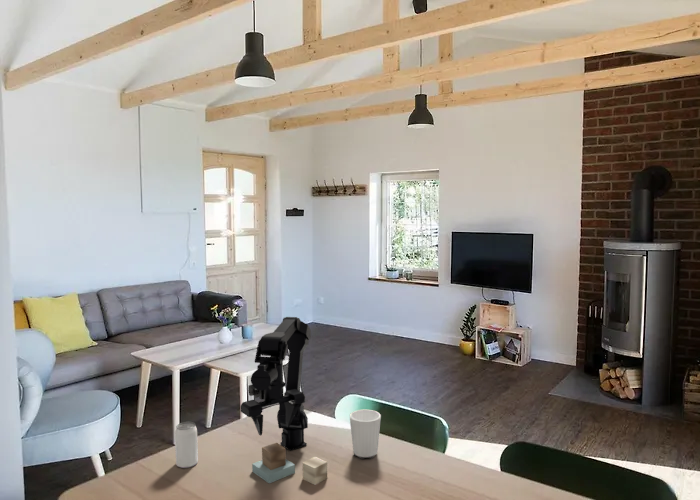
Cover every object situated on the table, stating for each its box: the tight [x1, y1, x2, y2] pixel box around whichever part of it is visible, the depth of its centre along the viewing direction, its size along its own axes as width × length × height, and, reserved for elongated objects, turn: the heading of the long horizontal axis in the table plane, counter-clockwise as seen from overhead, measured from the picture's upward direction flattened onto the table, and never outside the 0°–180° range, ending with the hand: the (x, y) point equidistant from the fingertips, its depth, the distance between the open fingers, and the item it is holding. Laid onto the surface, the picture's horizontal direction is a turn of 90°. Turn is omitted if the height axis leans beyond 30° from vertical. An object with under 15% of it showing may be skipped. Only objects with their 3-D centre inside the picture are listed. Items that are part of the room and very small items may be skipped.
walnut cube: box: [261, 442, 287, 470], centre depth 158 cm, size 5×5×5 cm
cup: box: [349, 408, 382, 460], centre depth 169 cm, size 10×10×13 cm
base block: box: [251, 458, 296, 484], centre depth 159 cm, size 9×9×3 cm
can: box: [174, 421, 199, 469], centre depth 164 cm, size 6×6×12 cm
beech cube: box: [302, 456, 328, 486], centre depth 155 cm, size 5×5×5 cm
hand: (274, 430), depth 158 cm, fingers open, 9 cm apart
